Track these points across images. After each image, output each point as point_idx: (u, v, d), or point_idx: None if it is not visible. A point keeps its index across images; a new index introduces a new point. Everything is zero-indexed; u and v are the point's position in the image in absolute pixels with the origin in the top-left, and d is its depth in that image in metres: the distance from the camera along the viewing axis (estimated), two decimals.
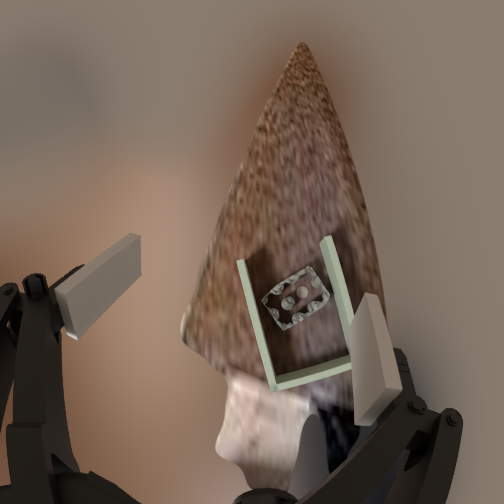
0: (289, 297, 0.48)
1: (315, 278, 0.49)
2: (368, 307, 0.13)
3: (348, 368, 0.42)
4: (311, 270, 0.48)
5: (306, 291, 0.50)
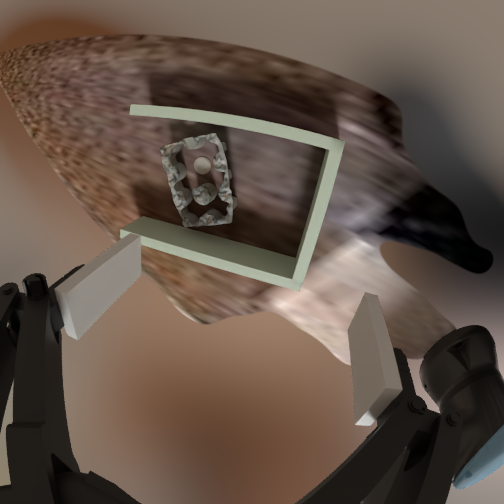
0: (193, 191, 0.31)
1: (185, 143, 0.30)
2: (368, 307, 0.13)
3: (334, 171, 0.25)
4: (170, 146, 0.30)
5: (203, 159, 0.32)
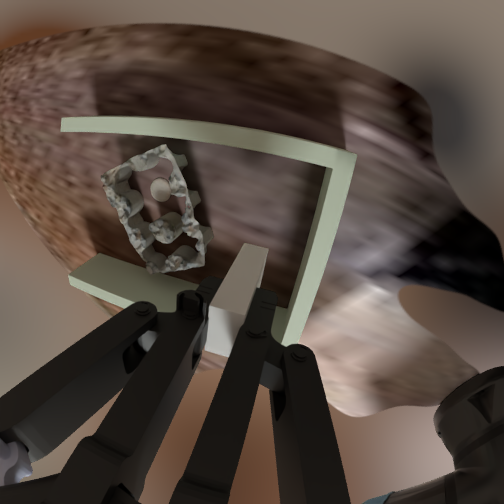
0: (150, 227, 0.23)
1: (132, 164, 0.22)
2: (252, 256, 0.16)
3: (340, 202, 0.16)
4: (113, 172, 0.21)
5: (160, 182, 0.24)
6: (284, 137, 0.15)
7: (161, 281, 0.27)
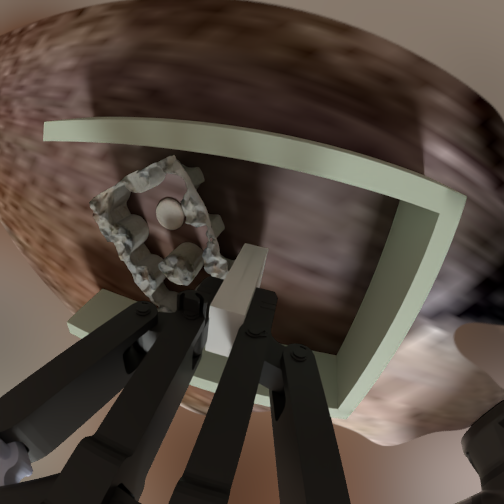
0: (160, 267, 0.18)
1: (130, 184, 0.16)
2: (251, 256, 0.16)
3: (441, 255, 0.11)
4: (105, 195, 0.16)
5: (168, 205, 0.18)
6: (385, 166, 0.10)
7: None
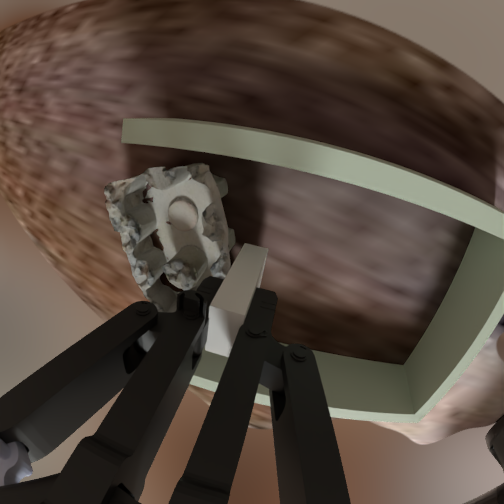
0: (164, 268, 0.17)
1: (151, 178, 0.16)
2: (252, 256, 0.16)
3: None
4: (122, 184, 0.15)
5: (183, 206, 0.18)
6: (497, 212, 0.09)
7: None
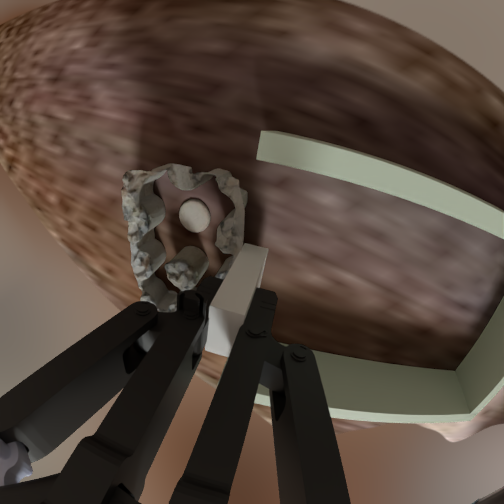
0: (167, 266, 0.17)
1: (174, 175, 0.15)
2: (252, 256, 0.16)
3: None
4: (143, 174, 0.15)
5: (197, 208, 0.18)
6: None
7: (346, 367, 0.20)
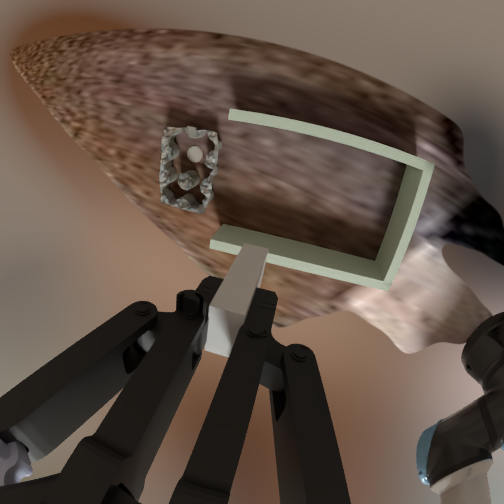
0: (179, 175, 0.34)
1: (187, 131, 0.32)
2: (252, 256, 0.16)
3: (425, 188, 0.26)
4: (173, 129, 0.31)
5: (197, 149, 0.34)
6: (401, 151, 0.25)
7: (288, 243, 0.36)
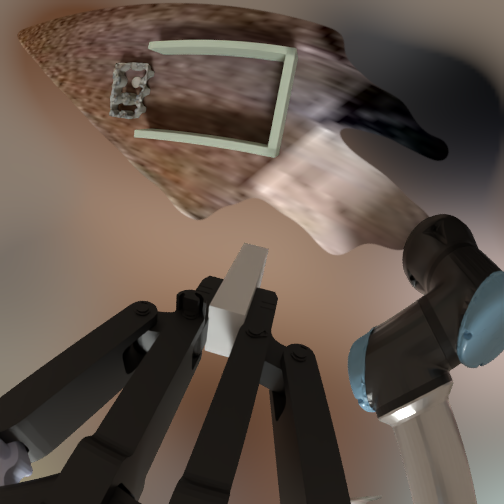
0: (122, 94, 0.39)
1: (131, 65, 0.37)
2: (252, 256, 0.16)
3: (290, 66, 0.31)
4: (122, 64, 0.37)
5: (138, 78, 0.40)
6: (264, 44, 0.30)
7: (195, 133, 0.42)
